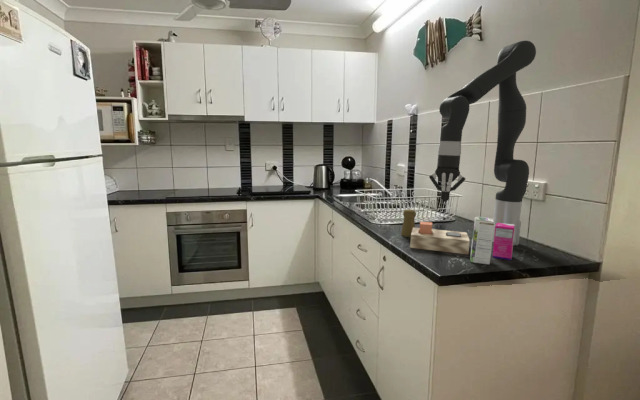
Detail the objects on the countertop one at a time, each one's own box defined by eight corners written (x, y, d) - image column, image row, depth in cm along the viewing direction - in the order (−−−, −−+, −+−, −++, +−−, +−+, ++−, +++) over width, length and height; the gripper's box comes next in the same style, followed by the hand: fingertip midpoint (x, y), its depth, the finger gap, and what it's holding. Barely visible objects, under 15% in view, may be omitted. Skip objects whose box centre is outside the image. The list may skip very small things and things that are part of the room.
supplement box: (493, 252, 119) (496, 222, 117) (512, 256, 116) (516, 224, 114) (491, 257, 114) (495, 225, 112) (511, 260, 111) (515, 227, 109)
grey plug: (458, 245, 125) (459, 233, 124) (459, 249, 121) (460, 236, 120) (445, 244, 127) (447, 231, 126) (446, 247, 122) (447, 234, 122)
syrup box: (469, 257, 114) (473, 216, 111) (488, 259, 112) (493, 217, 109) (470, 262, 109) (475, 219, 106) (490, 265, 106) (495, 221, 104)
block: (465, 244, 128) (466, 232, 127) (468, 254, 117) (469, 240, 116) (412, 239, 134) (412, 227, 133) (410, 247, 123) (411, 234, 122)
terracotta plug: (431, 235, 128) (432, 222, 127) (431, 238, 124) (432, 225, 123) (419, 233, 129) (420, 221, 128) (419, 236, 125) (419, 223, 124)
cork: (404, 232, 145) (406, 207, 143) (417, 235, 141) (419, 209, 139) (398, 235, 140) (400, 209, 138) (411, 237, 136) (413, 211, 134)
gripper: (468, 154, 121) (462, 201, 123) (430, 153, 125) (425, 198, 127) (470, 155, 114) (464, 204, 116) (430, 153, 118) (425, 201, 120)
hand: (444, 201), depth 122 cm, fingers closed
